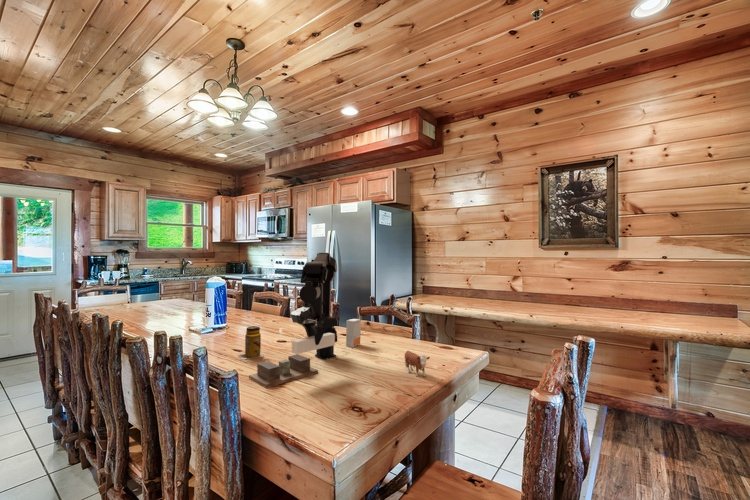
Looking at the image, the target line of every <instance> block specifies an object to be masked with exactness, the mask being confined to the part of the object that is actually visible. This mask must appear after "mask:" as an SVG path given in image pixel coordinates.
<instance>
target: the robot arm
mask: <svg viewBox="0 0 750 500" xmlns="http://www.w3.org/2000/svg"><path fill="white" fill-rule="evenodd" d="M337 272H338V265H337V260H336V259H335V258H334V257H332V255H331V253H329V252H317V254H316V257H315V258H314V259H313V261H308V262H305V264H304V265H303V267H302V272H301V277H300V284H304V286H302V287H301V288H300V290H299V293H298V295H299V298H300V300H301V301H302V307H299V308H297V309H296V310H295V309H294V311H291V312H290V318H291V320H292V322H293V323H294V324H295V323H297V324H298V325H301V326H302V327H303V329H305V332H306V337H311V336H315V345H319V343H320V341H321V338H322V336H323V334H325V333H333V334H335V343H337V342H338V333H337V330H336V327H337V326H338V321H339V320H338V318H337V317H335V316H332V315H331V313H332V312H331V309H332V308H331V306H332V282H333V281H334V279H335V278H336V273H337ZM334 346H335V345H333V346H329V347H325V348H321V349H317V350H315V351H316V352H315V353H316V354H315V355H314V357H315V358H320V359H322V360H327V359H331V358H334V357H337V354H335V352H334V351H335V349H334V348H335V347H334Z"/></svg>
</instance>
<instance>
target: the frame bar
mask: <svg viewBox="0 0 750 500" xmlns="http://www.w3.org/2000/svg"><path fill="white" fill-rule="evenodd" d="M333 345H334V346H335V345H336V342H335V334H333V333H325V334H323V336H322V338H321V341H320V343H319V345H315V336H311V337H308V336H306V337H301V338H298V339H292V340H291V353H293V354H294V355H296V354H299V355H301V354H303V353H307V352H308V353H309V352H312V351H316V350H317V349H321V348H325V347H329V346H333Z"/></svg>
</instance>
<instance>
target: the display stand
mask: <svg viewBox="0 0 750 500" xmlns="http://www.w3.org/2000/svg"><path fill="white" fill-rule="evenodd" d="M318 373H319V370H318V369H316V368H314V367H311V358H309V357H306V356H303V355H301V354H292V355H289V356H288V358H287V359H283V360H278V364H276V363H273V362H271V361H268V360H265V361H262V362H258V363H257V373H252V374H249V375H248V379H250V380H252V381H254V382H255V383H256V384H258V385H260V386H262V387H264V388H265V389H266V388H267V389H268V388H271V387H274V386H276V385H277V386H278V385H280V384H284V383H287V382H291V381H294V380H299V379H301V378H305V377H309V376H312V375H314V374H318Z"/></svg>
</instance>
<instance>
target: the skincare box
mask: <svg viewBox="0 0 750 500" xmlns="http://www.w3.org/2000/svg"><path fill="white" fill-rule="evenodd" d="M345 322H346V324H345V325H346V328H345V329H346V332H345V336H346V337H345V346H346V347H350V348H355V347H357V345H358V346H360V345H361V327H362V326H361V324H362V323H361V322H362V321H361V319H359V318H352V319H351V318H350V319H347V320H346V321H345Z"/></svg>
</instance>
